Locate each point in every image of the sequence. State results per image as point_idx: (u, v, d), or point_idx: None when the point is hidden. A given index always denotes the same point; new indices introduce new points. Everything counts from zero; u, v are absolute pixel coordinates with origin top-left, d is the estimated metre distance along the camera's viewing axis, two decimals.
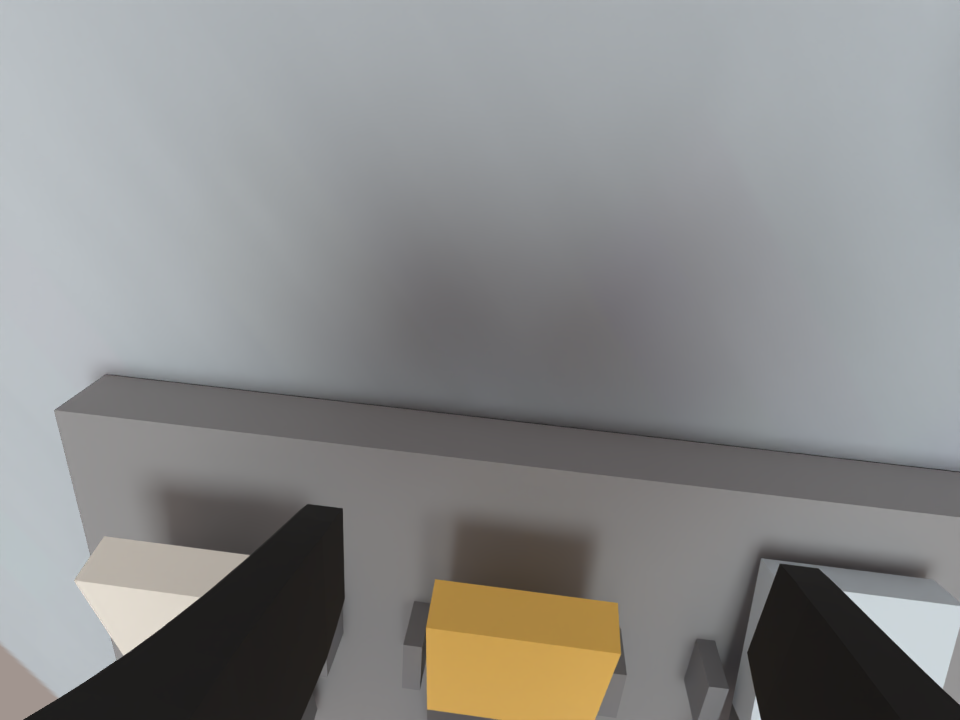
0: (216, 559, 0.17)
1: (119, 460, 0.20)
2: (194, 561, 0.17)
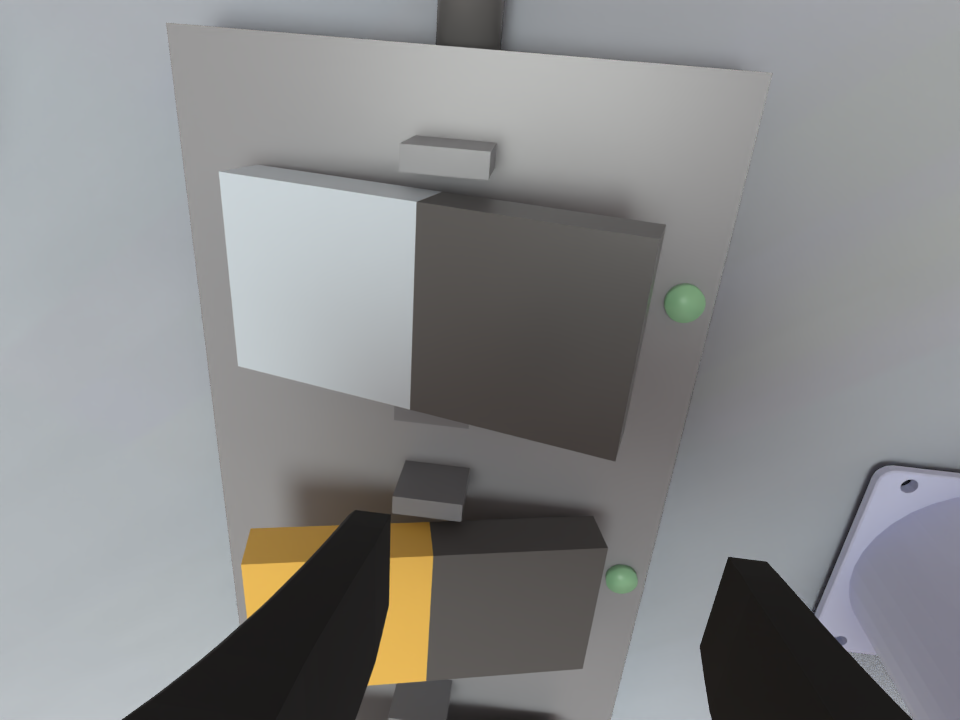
0: None
1: None
2: None
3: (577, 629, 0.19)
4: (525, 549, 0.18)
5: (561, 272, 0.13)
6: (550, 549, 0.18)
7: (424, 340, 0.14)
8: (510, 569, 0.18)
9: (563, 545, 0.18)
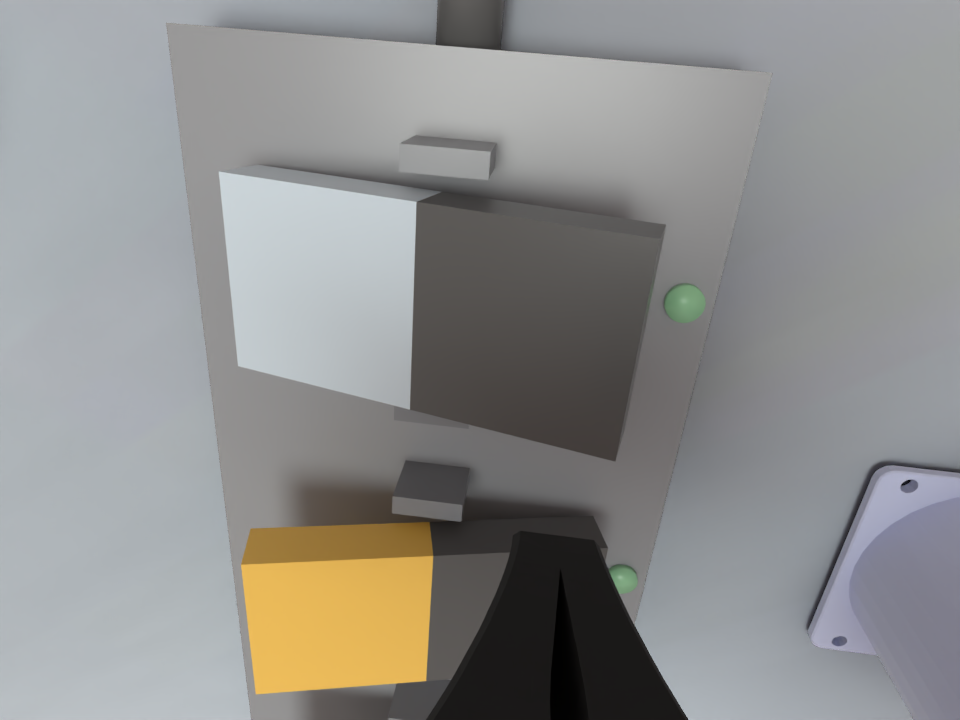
0: None
1: None
2: None
3: None
4: None
5: (561, 272, 0.13)
6: None
7: (424, 340, 0.14)
8: None
9: None
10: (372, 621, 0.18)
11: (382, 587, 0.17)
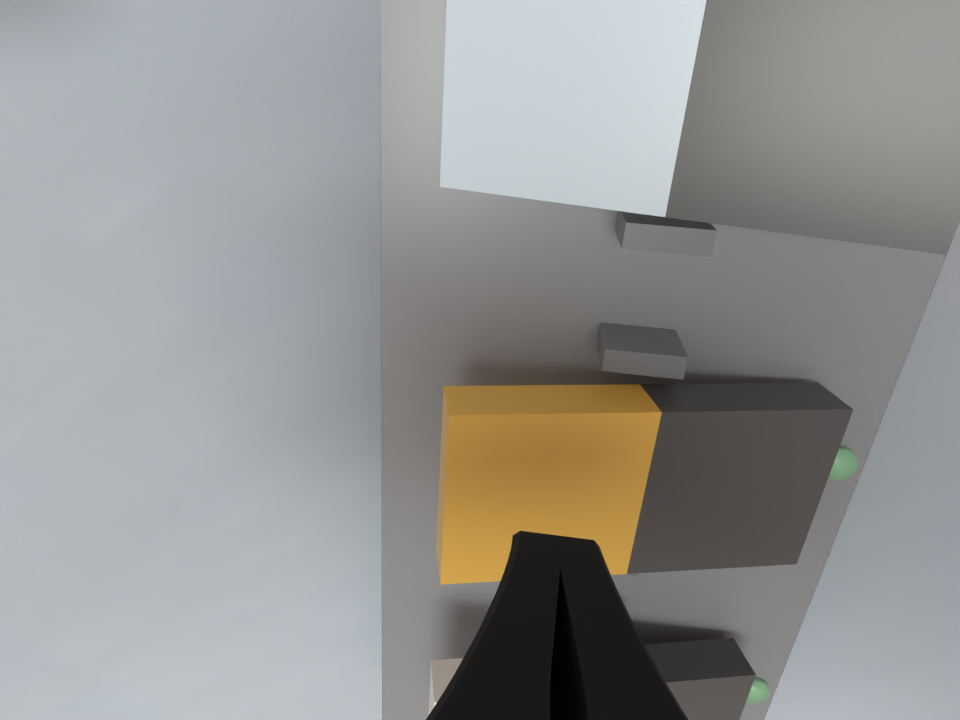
0: (429, 703, 0.20)
1: (423, 710, 0.24)
2: None
3: (799, 513, 0.17)
4: (761, 408, 0.15)
5: None
6: (789, 409, 0.15)
7: (700, 119, 0.12)
8: (742, 433, 0.15)
9: (801, 406, 0.15)
10: (581, 495, 0.15)
11: (599, 451, 0.15)
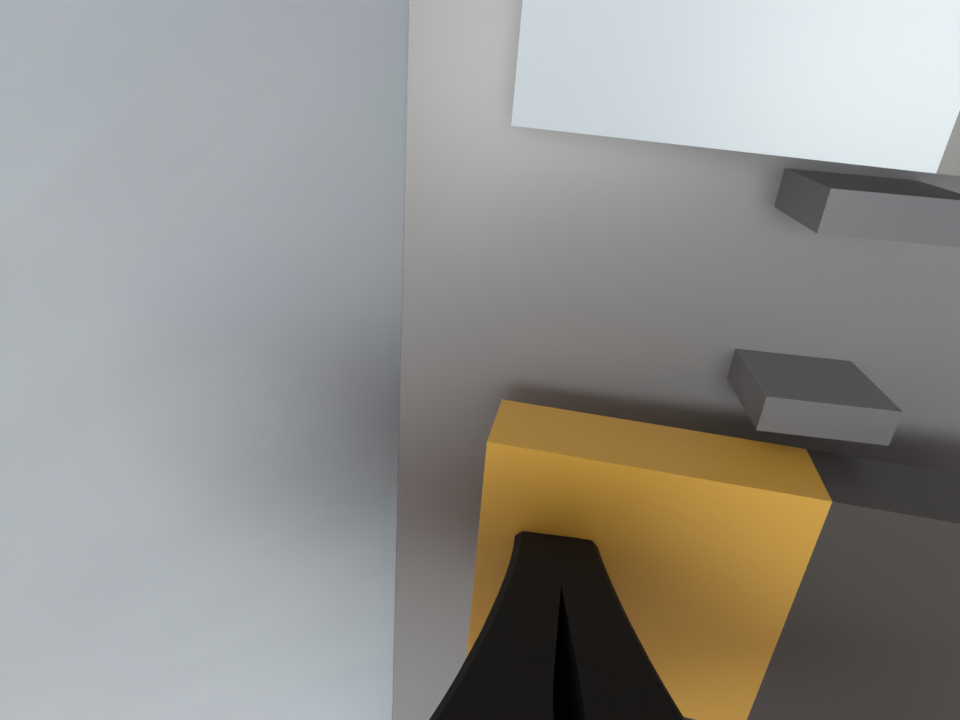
0: None
1: None
2: None
3: None
4: None
5: None
6: None
7: None
8: None
9: None
10: (680, 599, 0.10)
11: (716, 540, 0.10)
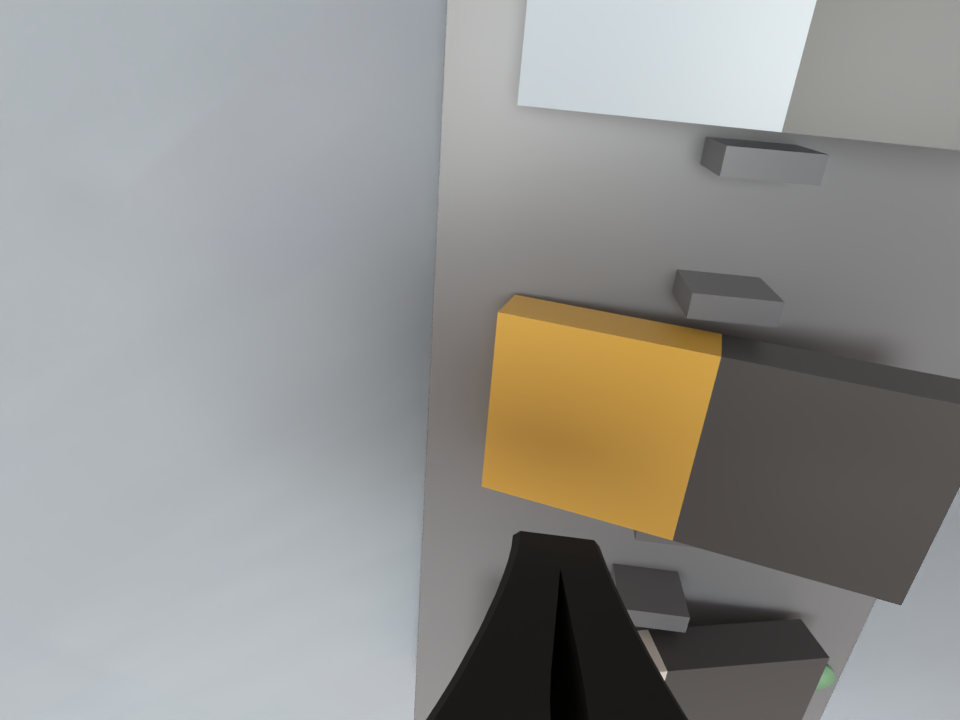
0: None
1: None
2: None
3: (907, 536, 0.13)
4: (855, 381, 0.13)
5: None
6: (896, 390, 0.12)
7: (833, 13, 0.10)
8: (826, 406, 0.13)
9: (918, 392, 0.12)
10: (625, 431, 0.15)
11: (646, 386, 0.14)
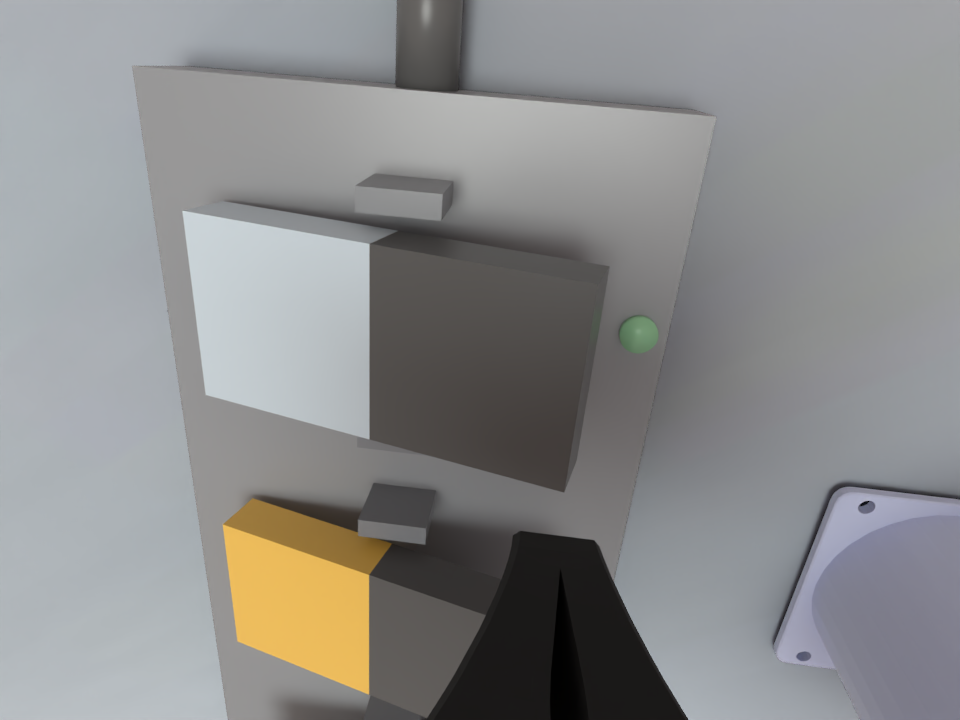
0: None
1: None
2: None
3: None
4: (455, 601, 0.17)
5: (507, 313, 0.13)
6: (479, 611, 0.17)
7: (381, 374, 0.15)
8: (440, 616, 0.17)
9: None
10: (321, 616, 0.19)
11: (327, 587, 0.18)
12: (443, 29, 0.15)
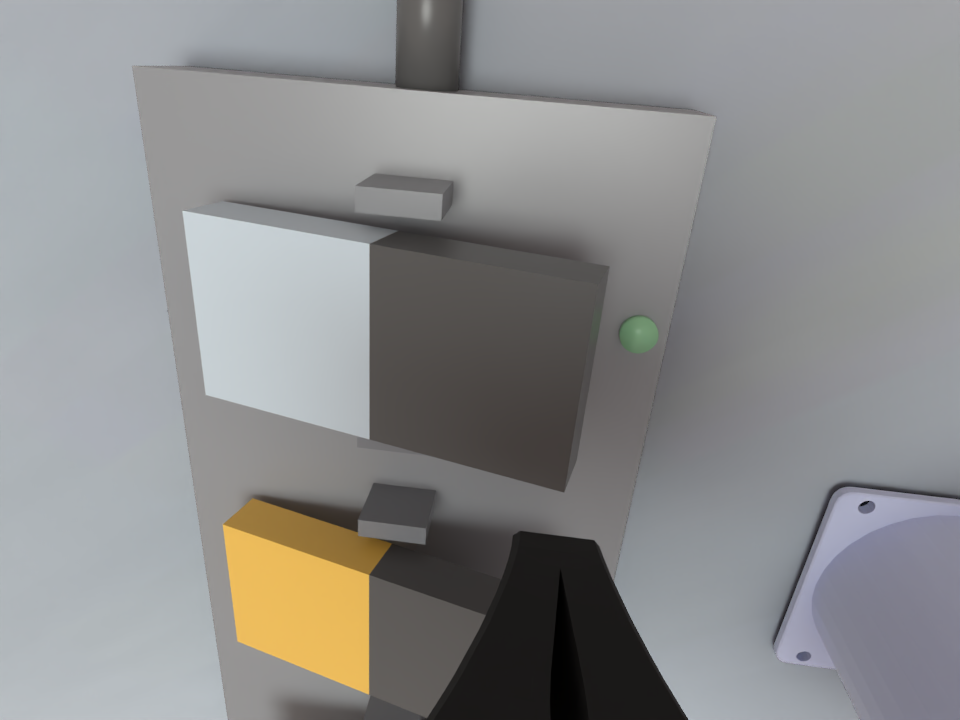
0: None
1: None
2: None
3: None
4: (455, 601, 0.17)
5: (507, 313, 0.13)
6: (479, 611, 0.17)
7: (381, 374, 0.15)
8: (440, 616, 0.17)
9: None
10: (321, 616, 0.19)
11: (327, 587, 0.18)
12: (443, 29, 0.15)
